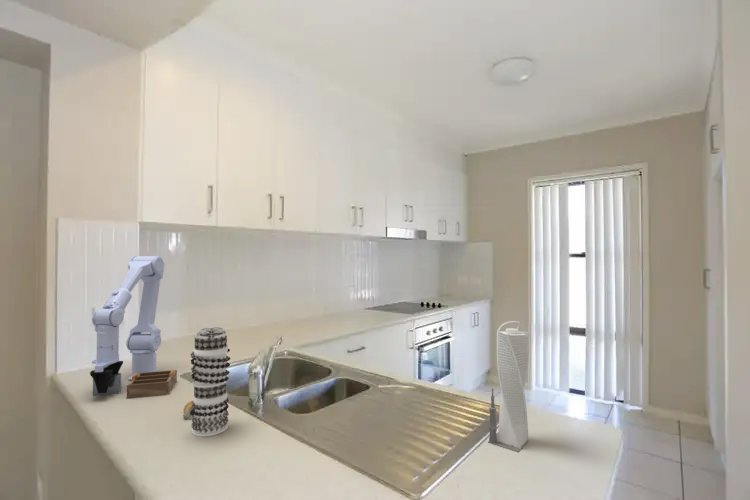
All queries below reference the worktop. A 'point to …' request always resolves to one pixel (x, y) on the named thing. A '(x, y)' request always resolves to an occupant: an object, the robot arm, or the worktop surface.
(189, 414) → the pastry
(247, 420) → the worktop surface
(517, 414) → the skyscraper
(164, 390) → the rack
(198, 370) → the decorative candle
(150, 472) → the worktop surface
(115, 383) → the panel
